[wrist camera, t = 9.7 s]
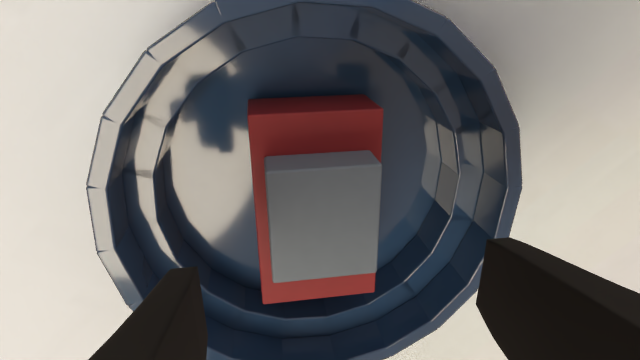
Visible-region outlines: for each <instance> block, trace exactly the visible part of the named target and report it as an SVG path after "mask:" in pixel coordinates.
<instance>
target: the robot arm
mask: <svg viewBox="0 0 640 360" xmlns="http://www.w3.org/2000/svg"><path fill="white" fill-rule="evenodd" d="M476 305H477V307H478V309H479V311H480V313H481V315H482V317H483V319H484V321H485V323H486V325H487V327H488V329H489V331H490V332H491V334H492V336H493V338H494V340H495V341H496V343H497V344H498V346H499V347H500V349H501V350H502V351H503V353H504V354H505V356H506V357H507V359H508V360H640V294H639V293H637V292H635V291H632V290H630V289H627V288H625V287H622V286H620V285H618V284H615V283H613V282H611V281H609V280H606V279H604V278H602V277H599V276H597V275H595V274H593V273H590V272H588V271H586V270H584V269H582V268H579V267H577V266H575V265H573V264H571V263H568V262H566V261H564V260H562V259H560V258H557V257H555V256H553V255H551V254H549V253H546V252H544V251H542V250H540V249H537V248H535V247H533V246H531V245H528V244H526V243H523V242H521V241H518V240H515V239H512V238H509V237H507V238H497V239H487V241H486V247H485V253H484V259H483V265H482V271H481V277H480V283H479V289H478V295H477V301H476ZM207 341H208V332H207V326H206V319H205V312H204V306H203V299H202V292H201V286H200V279H199V272H198V266H196V267H185V268H174V269H170V270H169V271H168V272H167V273H166V274H165V276H164V277H163V278H162V279H161V280H160V281H159V282H158V284H157V285H156V286H155V287H154V288H153V290H152V291H151V292H150V293H149V294H148V296H147V297H146V298H145V299H144V300H143V301H142V303H141V304H140V305H139V306H138V307H137V308H136V310H135V311H134V312H133V313H132V314H131V315H130V316H129V317H128V318H127V320H126V321H125V322H124V323H123V324H122V325H121V326H120V327H119V328H118V330H117V331H116V332H115V333H114V334H113V335H112V336H111V337H110V338H109V339H108V340H107V341H106V342H105V343H104V344H103V345H102V346H101V347H100V348H99V349H98V350H97V351H96V352H95V353H94V354H93V355H92V357H91V358H90V359H89V360H206V356H207Z"/></svg>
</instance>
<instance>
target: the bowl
mask: <svg viewBox="0 0 640 360" xmlns="http://www.w3.org/2000/svg"><path fill="white" fill-rule="evenodd" d="M357 94H364V95H366V96H367V97H368V98H370V99H371V100H372V101H374V102H375V103H376V104H378V105H379V106H380V107H381V108H383V131H382V152H381V165H382V177H381V197H380V217H379V237H378V258H377V271H376V276H375V291H374V292H372V293H363V294H354V295H344V296H335V297H326V298H317V299H308V300H299V301H290V302H281V303H272V304H263V303H262V291H261V279H260V267H259V254H258V242H257V230H256V217H255V205H254V193H253V180H252V168H251V156H250V144H249V131H248V119H247V111H248V100H249V99H263V98H287V97H310V96H334V95H357ZM86 185H87V187H86V190H87V196H88V202H89V208H90V215H91V221H92V227H93V233H94V239H95V245H96V251H97V254H98V256H99V258H100V259H101V261H102V263H103V265H104V266H105V268H106V270H107V272H108V273H109V275H110V277H111V278H112V280H113V282H114V284H115V285H116V287H117V289H118V291H119V292H120V294H121V296H122V298H123V299H124V301H125V303H126V305H127V306H129V308H130V309H131V310H133V311H135V310H136V308H137V307H138V306H139V305H140V304H141V303H142V301H143V300H144V299H145V298H146V297H147V296H148V294H149V293H150V292H151V291H152V290H153V288H154V287H155V286H156V285H157V284H158V282H159V281H160V280H161V279H162V278H163V277H164V276H165V274H166V273H167V272H168V271H169V270H170V269H174V268H185V267H196V266H198V272H199V279H200V286H201V292H202V299H203V306H204V312H205V319H206V326H207V332H208V341H207V356H206V360H383V359H386V358H389V357H390V356H393V355H395V354H397V353H398V352H400V351H402V350H403V349H405V348H407V347H408V346H410V345H412V344H413V343H415V342H417V341H419V340H420V339H422V338H424V337H425V336H427V335H429V334H430V333H432V332H434V331H435V330H437V328H440V327H441V326H442V325H443V324H444V323H445V322H446V321H447V320H448V319H449V318H450V317H451V316H452V315H453V314H454V313H455V312H456V311H457V310H458V309H459V308H460V307H461V306H462V305H463V304H464V303H465V302H466V301H467V300H468V299H469V298H470V297H471V296H472V295H473V294H474V293H475V292H476V291H477V289H479V283H480V277H481V271H482V265H483V259H484V253H485V247H486V241H487V239H497V238H507V237H509V235H510V231H511V227H512V224H513V220H514V216H515V212H516V209H517V205H518V201H519V198H520V194H521V190H522V169H521V149H520V129H519V124H518V122H517V119H516V117H515V114H514V112H513V110H512V107H511V105H510V103H509V100H508V98H507V95H506V93H505V91H504V88H503V86H502V83H501V81H500V79H499V76H498V74H497V71H496V69H495V68H494V66H493V65H492V64H491V63H490V61H489V60H488V59H487V58H486V57H485V56H484V55H483V54H482V53H481V52H480V51H479V50H478V49H477V48H476V47H475V46H474V45H473V44H472V43H471V42H470V40H469V39H468V38H467V37H466V36H465V35H464V34H463V33H462V32H461V31H460V30H459V29H458V28H457V27H456V26H455V25H454V24H453V23H452V22H451V21H450V19H449V18H446V17H445V16H444V15H442V14H440V13H438V12H436V11H434V10H432V9H430V8H427V7H425V6H423V5H421V4H419V3H417V2H415V1H413V0H215V2H214V1H213V2H211V3H209V4H208V5H207V6H205V7H204V8H202V9H201V10H200V11H198V12H197V13H195V14H194V15H193V16H191V17H190V18H188V19H187V20H186V21H184V22H183V23H181V24H180V25H179V26H177V27H176V28H174V29H173V30H172V31H170V32H169V33H167V34H166V35H165V36H163V37H162V38H160V39H159V40H158V41H156V42H155V43H153V44H152V45H151V46H149V47H148V48H147V50H145V51H144V52H143V53H142V55H141V56H140V58H139V59H138V61H137V62H136V64H135V65H134V67H133V68H132V70H131V71H130V73H129V74H128V76H127V77H126V79H125V80H124V82H123V83H122V85H121V86H120V88H119V89H118V91H117V92H116V94H115V95H114V97H113V98H112V100H111V101H110V103H109V104H108V106H107V107H106V109H105V110H104V112H103V116H102V117H101V119H100V124H99V128H98V133H97V137H96V142H95V146H94V151H93V155H92V160H91V165H90V169H89V174H88V178H87V183H86Z"/></svg>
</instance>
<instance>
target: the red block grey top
mask: <svg viewBox="0 0 640 360" xmlns="http://www.w3.org/2000/svg"><path fill="white" fill-rule="evenodd" d="M247 119H248V131H249V144H250V156H251V168H252V180H253V193H254V205H255V217H256V230H257V242H258V254H259V267H260V279H261V291H262V303H263V304H272V303H281V302H290V301H299V300H308V299H317V298H326V297H335V296H344V295H354V294H363V293H372V292H374V291H375V276H376V271H377V258H378V237H379V217H380V197H381V177H382V165H381V152H382V131H383V108H381V107H380V106H379V105H378V104H376V103H375V102H374V101H372V100H371V99H370V98H368V97H367V96H366V95H364V94H357V95H334V96H310V97H287V98H263V99H249V100H248V111H247Z"/></svg>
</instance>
